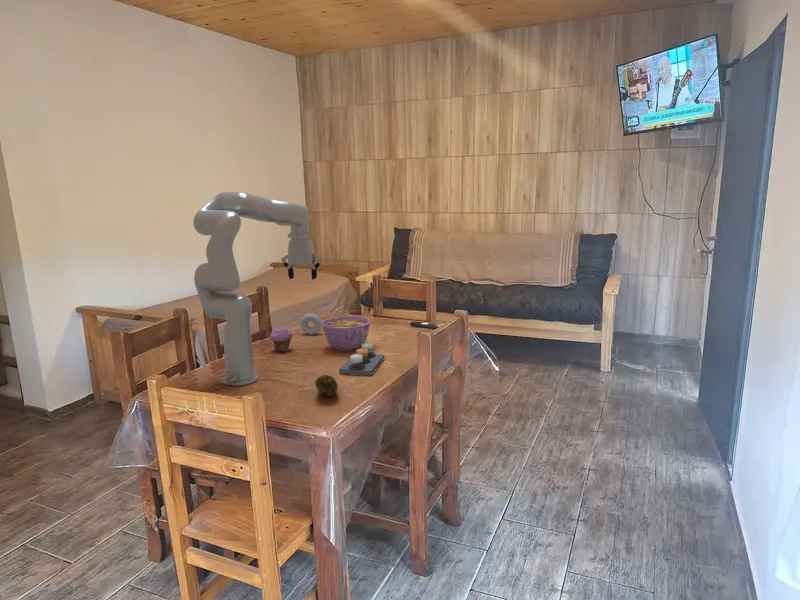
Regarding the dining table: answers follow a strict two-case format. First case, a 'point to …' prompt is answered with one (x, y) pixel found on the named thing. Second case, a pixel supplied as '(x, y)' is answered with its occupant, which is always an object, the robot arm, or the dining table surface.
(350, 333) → the bowl of food
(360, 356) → the button white
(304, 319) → the donut
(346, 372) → the button panel
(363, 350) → the button orange
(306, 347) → the dining table surface
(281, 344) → the cupcake
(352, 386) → the dining table surface
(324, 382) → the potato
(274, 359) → the dining table surface
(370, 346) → the button sage
